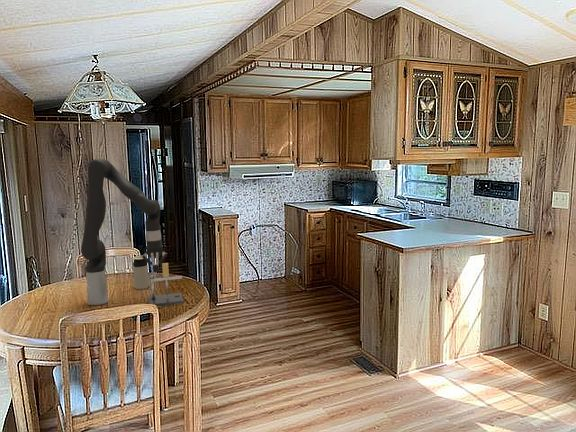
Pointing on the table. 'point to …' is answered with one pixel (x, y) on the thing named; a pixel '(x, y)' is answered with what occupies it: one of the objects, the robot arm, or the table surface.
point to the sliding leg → (165, 274)
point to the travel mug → (140, 273)
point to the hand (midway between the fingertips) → (156, 271)
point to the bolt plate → (163, 299)
